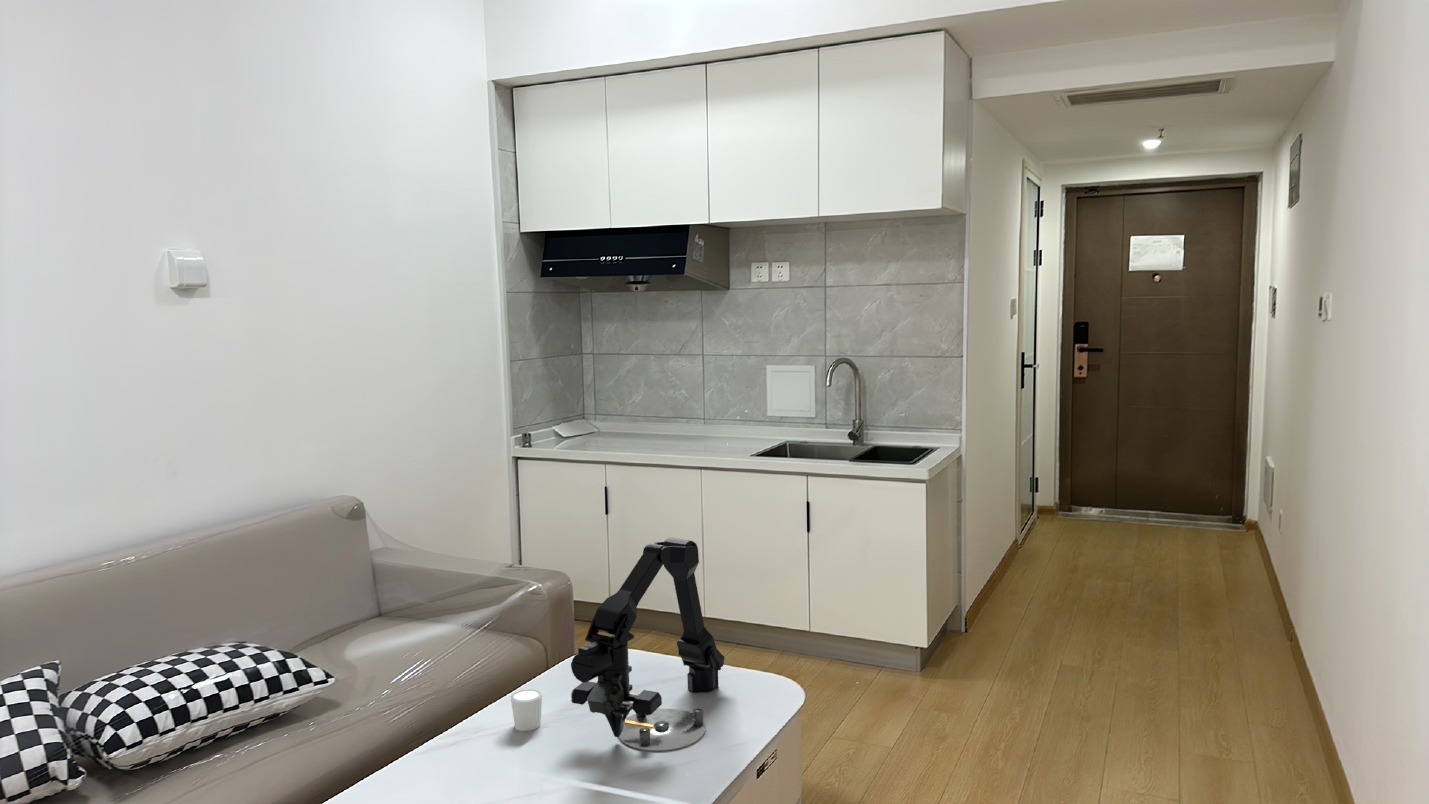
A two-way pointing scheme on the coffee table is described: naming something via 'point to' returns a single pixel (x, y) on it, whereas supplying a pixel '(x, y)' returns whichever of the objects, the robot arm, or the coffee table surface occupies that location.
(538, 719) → the shot glass
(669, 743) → the capstan dial
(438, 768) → the coffee table surface
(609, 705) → the robot arm
